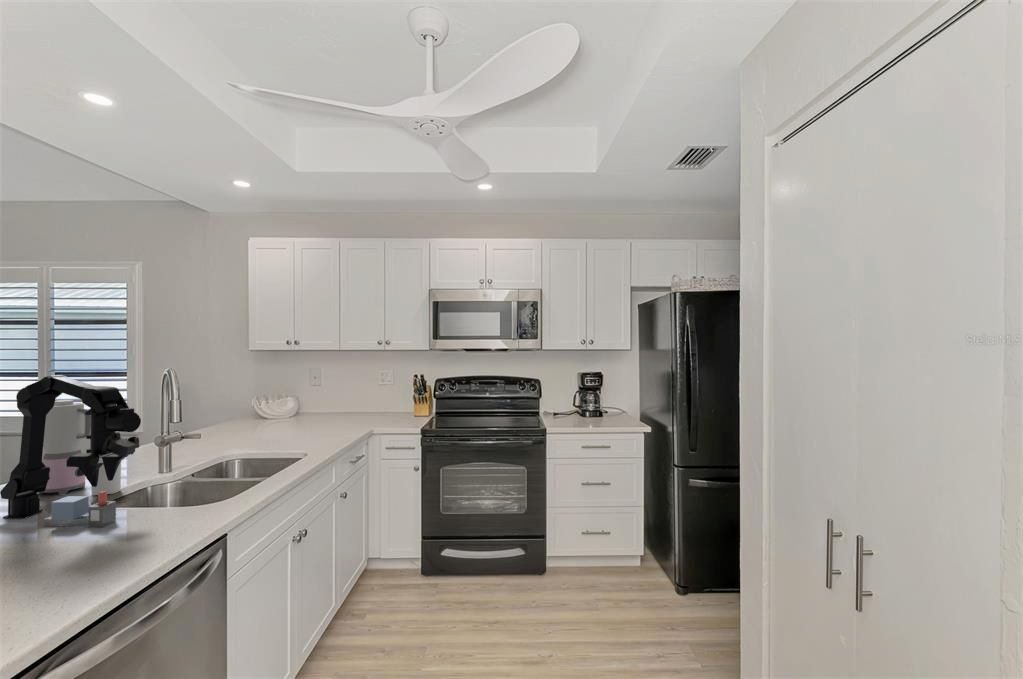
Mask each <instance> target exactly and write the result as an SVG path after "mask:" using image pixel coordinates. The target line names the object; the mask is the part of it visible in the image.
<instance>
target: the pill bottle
mask: <svg viewBox="0 0 1023 679" xmlns="http://www.w3.org/2000/svg"><path fill="white" fill-rule="evenodd" d="M100 463H103V460H102V458H100ZM121 479H122V461H121V462H120V464H119V466H118V468H117V471H116V473H115V476H114V478H113V480H112V481H108V479H107V476H106V472H105V468H104V464H103V465H102V466H101V467H100V468H99V476H98V483H97V486H96V487H92V486H91V489H90V490H91V495H93V496H95V495H98V492H101V491H107V494H110V495H114V494H117V493H119V492H120V491H121V485H122V484H121V483H122V482H121Z"/></svg>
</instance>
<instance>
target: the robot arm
mask: <svg viewBox="0 0 1023 679" xmlns="http://www.w3.org/2000/svg"><path fill="white" fill-rule="evenodd" d="M63 394H64V395H66V396H67V395H69V396H71V397H74V398H76V399H80V400H81V403H83V404H84V406H86V407H88V408H89V409H88V410H87V412H86V413H85V415H91V430H90V435H86V440H90V447H89V448H88V449H86V450H85V452H86V453H82V454H77V455H73V456H70V457H69V458H68V459H67V460H66V466H67V467H78V468H79V469H80V470H81V471H82V472H83V474H84V475H85V479H86V480H87V481H88V482H89V484H90V485H91V487H96V486H97V483H98V476H99V468H100V467H101V466H102V465H103V464H104V468H105V472H106V476H107V479H108V481H112V480H113V478H114V476H115V473H116V471H117V468H118V466H119V464H120V462H121V463H122V461H123V460H124V459H125V458H127V457H129V456H130V455H134V453H136V449H138V448H140V438H139V437H138V436H129V438H122V437H121V433H133V432H135V431H137V430H138V429H139V428H140V426H141V423H142V422H141V421H142V420H141V417H140V415H139V414H138V413H136V412H135V408H133V407H129V405H128V403H127V402H126V400H125V398H124V397H123V395H122V394H121V392H120V389H119V388H117V387H115V386H107V385H103V386H102V385H92V384H89V383H86V382H83V381H80V380H77V379H74V378H70V377H68V376H66V375H64V374H56V375H54V374H53V375H47V376H44V377H42V378H41V379H40V380H38V381H35V382H34V383H31V384H28V385H27V386H25V387H23V388H21V389H20V390H18V391H17V393H16V396H15V397H16V407H17V409H18V411H19V412H20V413H21V415H22V416H23V418H22V419H23V420H22V430H21V441H20V451H19V452H20V453H19V462H18V463H17V465H16V466H15V467H14V468H13V469H12V471H11V472H10V476H9V480H8V482H7V483H6V484H5V486H4V487H3V488H2V489H1V490H0V498H1V499H2V500H7V515H4V516H2V519H27V518H29V517H32V516H35V515H37V514H40V513H42V512H44V509H40V508H41V506H40V505H41V499H40V498H39V497H40V494H39V492H44V491H45V489H46V486H47V483H48V480H50V477H49V473H50V468H49V467H46V466H45V465H44V463H43V462H42V459H43V456H44V455H43V454H44V453H43V452H44V446H43V444H44V433H45V423H46V415H47V414H48V413H49V411H50V410H51V409H52V408H53V407H54V404H55V401H56V399H57V398H58V397H60V396H61V395H63ZM120 432H121V433H120ZM100 458H102V460H103V463H100Z"/></svg>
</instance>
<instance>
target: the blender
mask: <svg viewBox="0 0 1023 679" xmlns="http://www.w3.org/2000/svg"><path fill="white" fill-rule="evenodd" d="M87 411H88V410H87V409H85V404H83V403H82V402H74V400H73V399H58V400H55V404H54V407H53V408H52V409H51V410H50V411H49V413H48V414H47V415H46V423H45V433H44V444H43V452H44V453H43V454H44V455H43V456H42V462H43V463H44V465H45V466H46V467H49V468H50V473H49V477H50V480H48V483H47V486H46V489H45V491H44V492H39V495H42V494H43V493H46V494H47V493H48V494H49V493H58V496H64V494H65V495H68V491H71V490H75V489H79V488H80V489H81V490H84V489H85V487H86V476H85V475H84V474H83V472H82V471H81V470H80V469H79V468H78V467H67V466H66V460H67V459H68V458H69V457H70V456H73V455H77V454H83V453H82V443H83V439H85V438H86V435H90V434H91V415H85V413H86V412H87ZM83 488H84V489H83Z"/></svg>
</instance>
